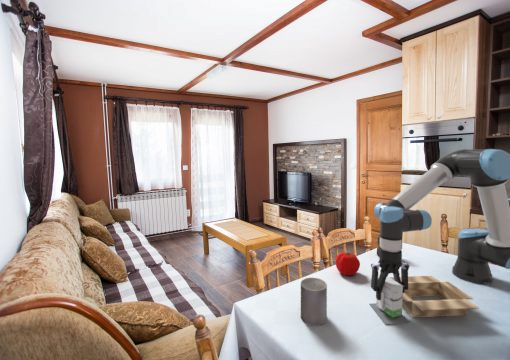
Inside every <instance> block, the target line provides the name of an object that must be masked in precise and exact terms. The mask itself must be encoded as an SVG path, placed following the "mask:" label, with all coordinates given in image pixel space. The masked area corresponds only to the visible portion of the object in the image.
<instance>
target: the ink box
mask: <svg viewBox="0 0 510 360" xmlns="http://www.w3.org/2000/svg"><path fill="white" fill-rule="evenodd" d="M389 277H390V276H389V275H388V276H387V277H386V280H385V283H384V286H383V289H382V292H383V293H384V300H383V309H382V310H383V311H384V312H386V313H387V314H388V315H390V316H391V317H397V316H400V315H403V307H402V295H403V285H401V284H399V283H398V282H396V281H394V280H393V279H391V278H389ZM378 279H379V276H378ZM376 306H378V299H377V298H376ZM378 307H379V306H378ZM379 308H380V307H379Z"/></svg>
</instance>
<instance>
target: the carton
mask: <svg viewBox="0 0 510 360" xmlns="http://www.w3.org/2000/svg"><path fill="white" fill-rule="evenodd" d="M388 277H389V278H391V279H393V280H394V281H395V279H394V276H391V277H390V276H388ZM400 279H401V276H400ZM404 291H405V292H404V293H403V298H402V309H404V310H405V311H406V312H407V313H408V315H410V317H412V318H427V317H429V318H430V317H445V316H446V317H450V316H467V313H468V310H470V309H471V310H474V309H475V310H476V309H480V307H479V306H478V305H476V304H474V303H473V302H472V301H471V300H474V297H472V296H471V295H469V294H467V293H466V292H464V291H463V290H461V289H460V288H459V287H457V286H455V285H454V284H452V283H451V282H449V281H440V280H439V279H437V278H436V277H435V276H433V275H420V276H419V275H417V276H416V275H415V276H413V275H412V276H408V290H404ZM431 296H432V297H434V296H438V297H440V298H441V299H430V300H429V299H428V300H427V299H426V300H424V299H423V300H414V299H412V297H431Z"/></svg>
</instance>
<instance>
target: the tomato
mask: <svg viewBox="0 0 510 360" xmlns="http://www.w3.org/2000/svg"><path fill="white" fill-rule="evenodd" d="M360 265H361V262H360V260H359V259H358V257H357V255H356V254H354V253H352V251H351V252H340V253H339V254H337V255H336V257H335V267H336V269H337V271H338V272H339V273H340V275H341V274H342V275H344V276H354V275H355V274H356V273H357V272H358V271H359V269H360V267H361V266H360Z"/></svg>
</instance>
